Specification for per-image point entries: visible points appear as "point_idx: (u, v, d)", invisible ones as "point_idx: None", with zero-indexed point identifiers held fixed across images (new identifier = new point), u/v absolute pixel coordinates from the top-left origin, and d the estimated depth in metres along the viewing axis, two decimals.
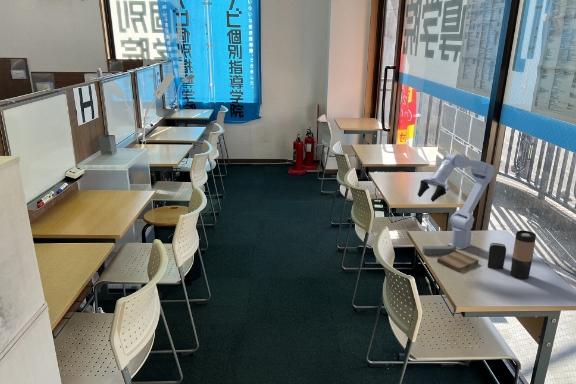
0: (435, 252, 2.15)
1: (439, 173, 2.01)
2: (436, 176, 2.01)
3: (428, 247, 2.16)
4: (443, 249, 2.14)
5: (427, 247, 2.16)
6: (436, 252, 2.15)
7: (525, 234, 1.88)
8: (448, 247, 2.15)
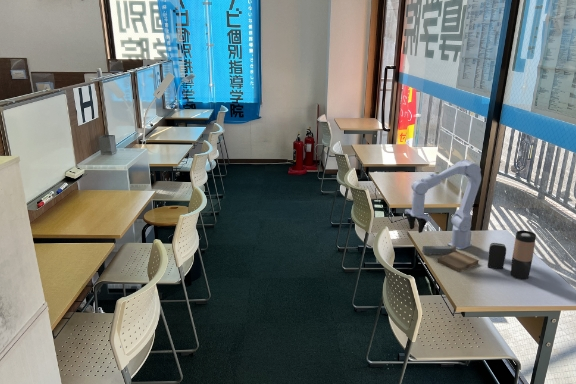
0: (435, 252, 2.15)
1: (415, 208, 2.15)
2: (414, 211, 2.15)
3: (428, 247, 2.16)
4: (443, 249, 2.14)
5: (427, 247, 2.16)
6: (436, 252, 2.15)
7: (525, 234, 1.88)
8: (448, 247, 2.15)
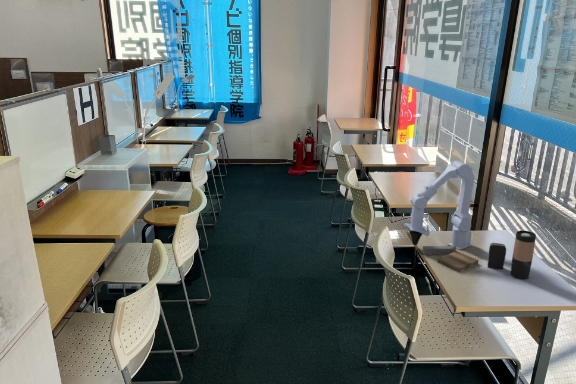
0: (435, 252, 2.15)
1: (414, 222, 2.17)
2: (413, 226, 2.18)
3: (428, 247, 2.16)
4: (443, 249, 2.14)
5: (427, 247, 2.16)
6: (436, 252, 2.15)
7: (525, 234, 1.88)
8: (448, 247, 2.15)
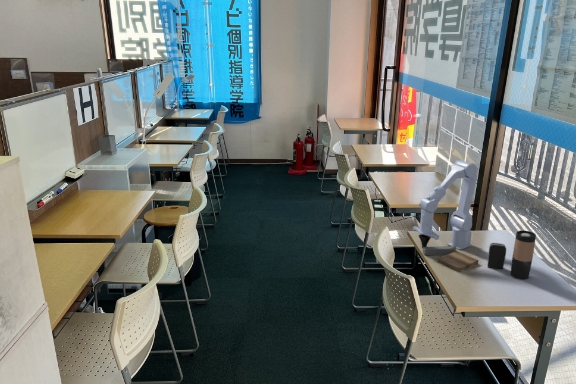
0: (436, 253, 2.14)
1: (423, 225, 2.12)
2: (422, 229, 2.13)
3: (428, 248, 2.15)
4: (443, 250, 2.14)
5: (428, 248, 2.15)
6: (437, 253, 2.14)
7: (525, 234, 1.88)
8: (448, 247, 2.15)
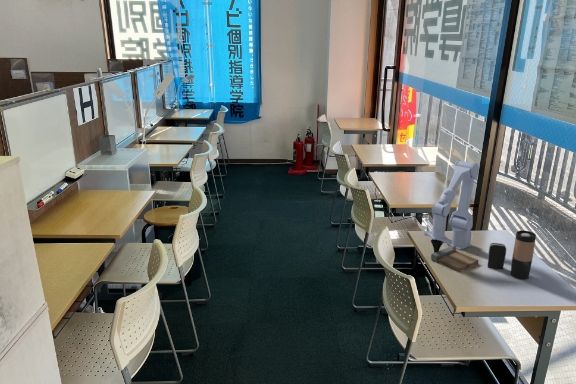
0: None
1: (436, 230, 2.06)
2: (435, 234, 2.07)
3: (437, 253, 2.09)
4: (449, 252, 2.12)
5: (437, 254, 2.09)
6: None
7: (525, 234, 1.88)
8: (450, 248, 2.14)
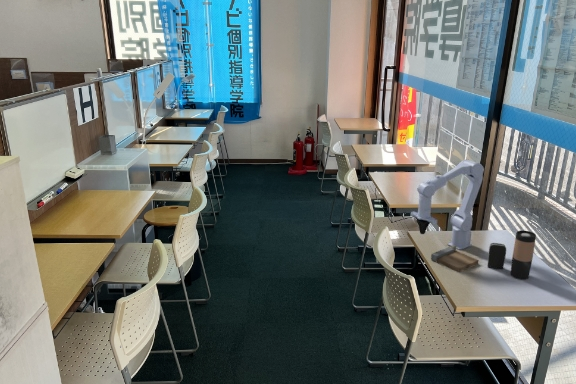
0: None
1: (421, 210, 2.11)
2: (420, 214, 2.12)
3: (437, 253, 2.09)
4: (449, 252, 2.12)
5: (437, 254, 2.09)
6: None
7: (525, 234, 1.88)
8: (450, 248, 2.14)
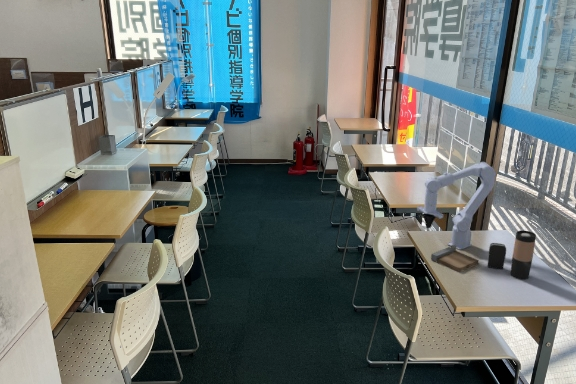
0: None
1: (427, 205, 2.18)
2: (427, 209, 2.19)
3: (437, 253, 2.09)
4: (449, 252, 2.12)
5: (437, 254, 2.09)
6: None
7: (525, 234, 1.88)
8: (450, 248, 2.14)
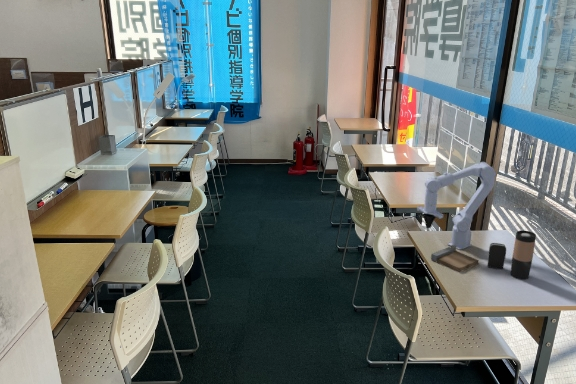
0: None
1: (427, 205, 2.18)
2: (427, 209, 2.19)
3: (437, 253, 2.09)
4: (449, 252, 2.12)
5: (437, 254, 2.09)
6: None
7: (525, 234, 1.88)
8: (450, 248, 2.14)
